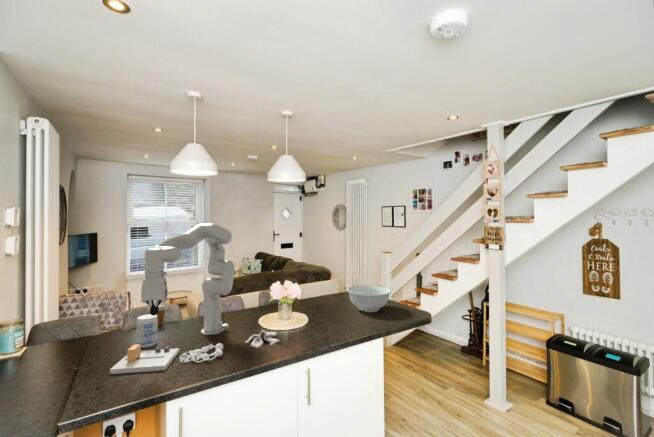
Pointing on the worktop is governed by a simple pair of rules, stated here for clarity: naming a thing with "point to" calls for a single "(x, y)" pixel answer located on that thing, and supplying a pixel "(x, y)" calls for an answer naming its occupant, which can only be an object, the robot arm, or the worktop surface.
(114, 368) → the console
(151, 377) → the worktop surface
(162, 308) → the disposable coffee cup
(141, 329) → the supplement tub
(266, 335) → the cloth
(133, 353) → the block
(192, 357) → the tangled rod sculpture
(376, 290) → the bowl
